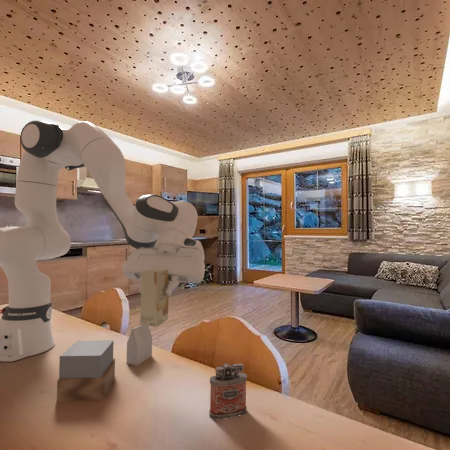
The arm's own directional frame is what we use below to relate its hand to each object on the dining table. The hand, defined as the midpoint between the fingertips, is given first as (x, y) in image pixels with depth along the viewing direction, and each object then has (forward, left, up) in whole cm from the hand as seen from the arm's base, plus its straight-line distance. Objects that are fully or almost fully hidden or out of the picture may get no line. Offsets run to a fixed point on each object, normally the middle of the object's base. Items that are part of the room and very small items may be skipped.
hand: (154, 293), depth 65 cm
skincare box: (0, +1, -7) cm, 7 cm away
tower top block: (-16, +6, -19) cm, 26 cm away
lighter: (+16, -7, -24) cm, 30 cm away
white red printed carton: (-6, +21, -24) cm, 32 cm away
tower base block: (-16, +6, -24) cm, 29 cm away
